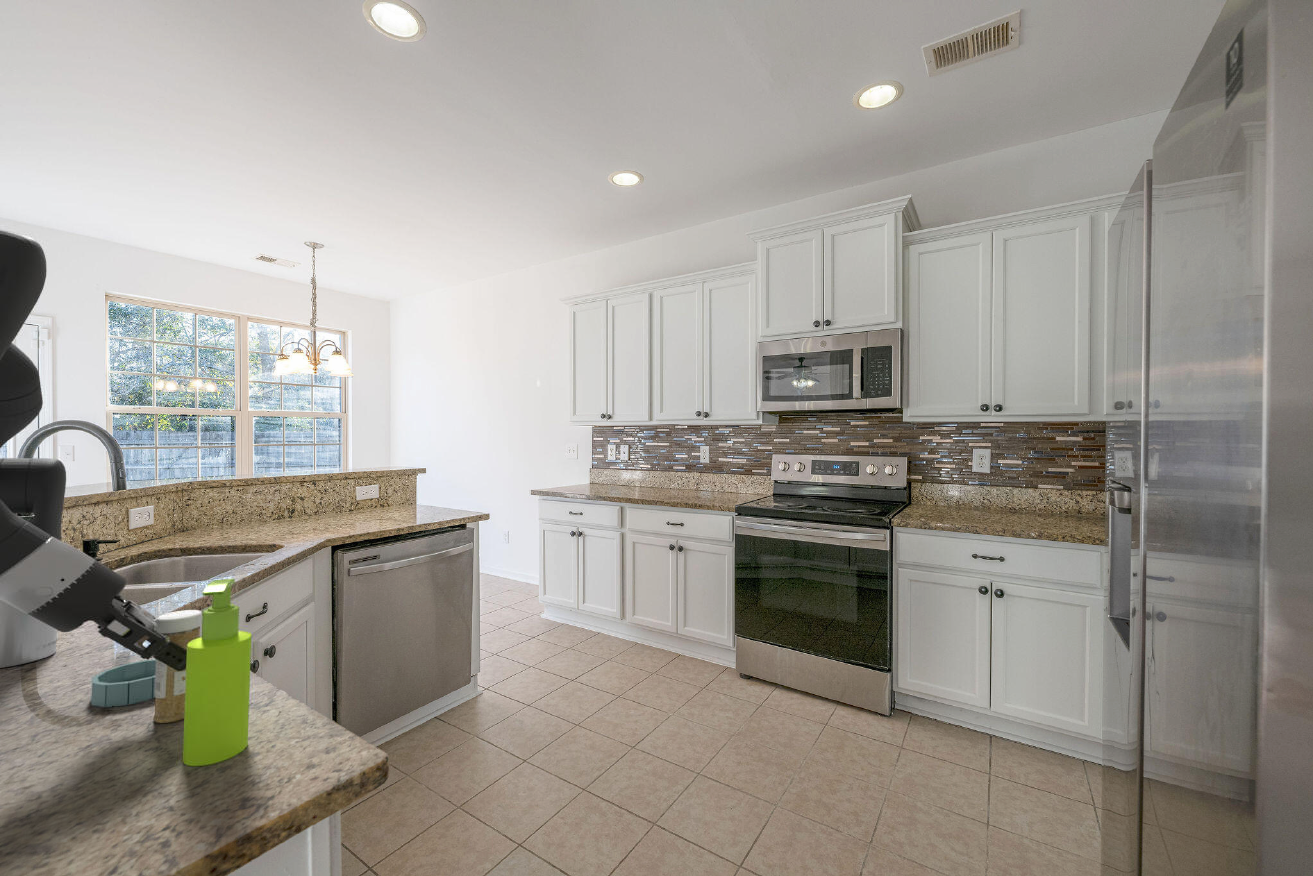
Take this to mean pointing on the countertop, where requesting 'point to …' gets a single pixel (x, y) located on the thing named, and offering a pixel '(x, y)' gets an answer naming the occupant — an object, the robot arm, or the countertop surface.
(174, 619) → the sprinkles bottle
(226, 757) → the soap dispenser
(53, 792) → the countertop surface
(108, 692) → the teal bowl
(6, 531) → the robot arm
